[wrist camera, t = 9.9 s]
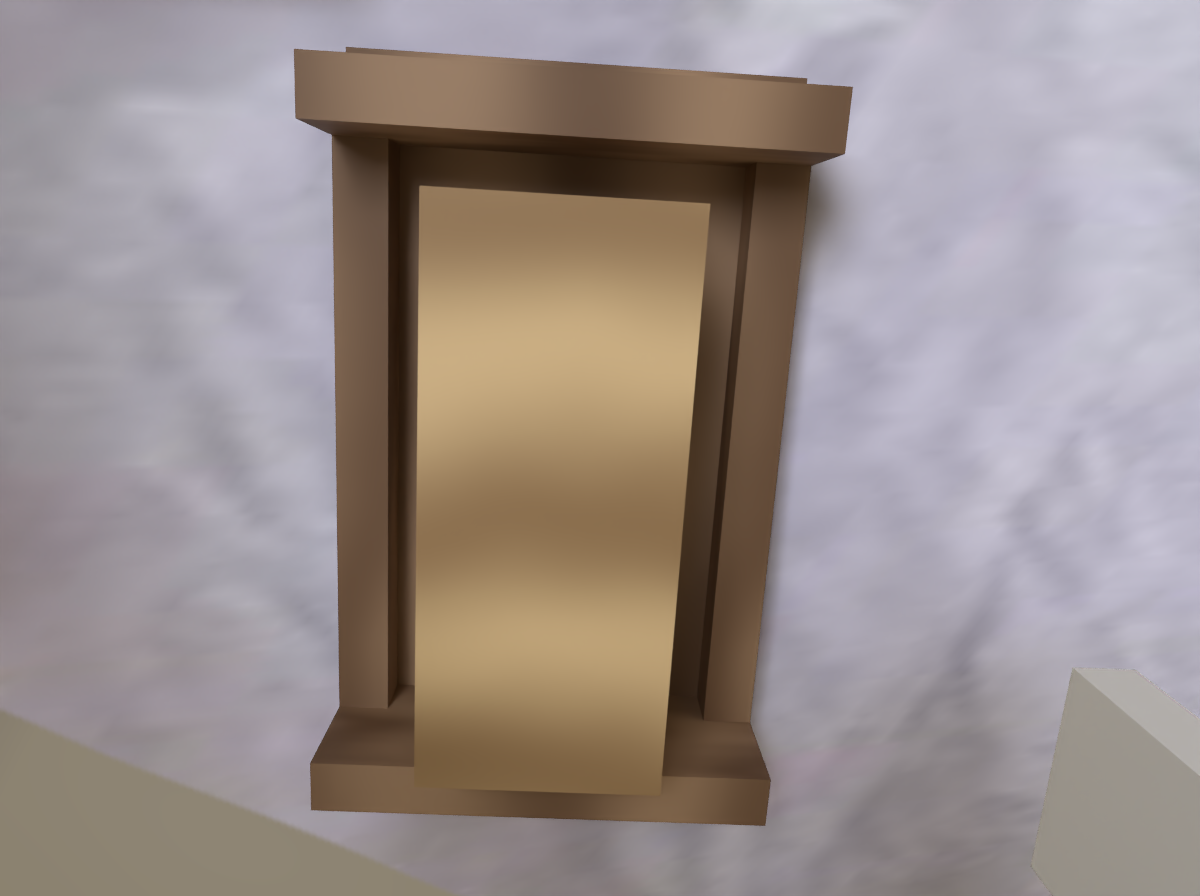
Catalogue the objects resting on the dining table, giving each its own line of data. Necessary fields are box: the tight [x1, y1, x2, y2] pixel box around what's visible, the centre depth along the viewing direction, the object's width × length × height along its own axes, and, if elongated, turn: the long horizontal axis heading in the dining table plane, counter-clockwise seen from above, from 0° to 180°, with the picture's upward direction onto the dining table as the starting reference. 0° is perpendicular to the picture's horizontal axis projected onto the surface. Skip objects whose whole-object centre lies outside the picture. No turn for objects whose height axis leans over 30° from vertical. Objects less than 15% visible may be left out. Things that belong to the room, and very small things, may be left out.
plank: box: [414, 186, 710, 796], centre depth 21 cm, size 14×6×4 cm, turn 177°
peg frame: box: [294, 47, 853, 826], centre depth 25 cm, size 13×22×6 cm, turn 177°
